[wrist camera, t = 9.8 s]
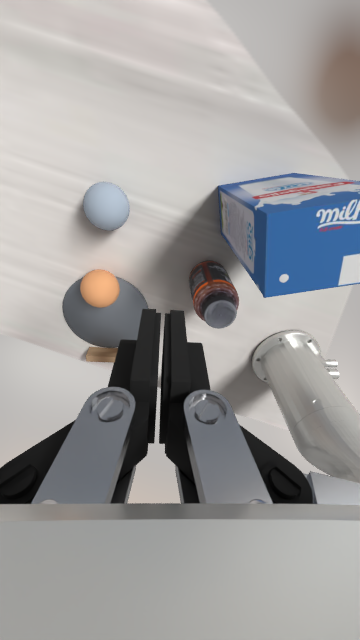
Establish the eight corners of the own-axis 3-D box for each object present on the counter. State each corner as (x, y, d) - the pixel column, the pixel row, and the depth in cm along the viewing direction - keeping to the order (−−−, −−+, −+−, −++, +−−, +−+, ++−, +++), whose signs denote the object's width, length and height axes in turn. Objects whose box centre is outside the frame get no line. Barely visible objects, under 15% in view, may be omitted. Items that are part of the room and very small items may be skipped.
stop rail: (128, 348, 48) (126, 357, 45) (128, 353, 48) (127, 362, 46) (89, 346, 47) (85, 355, 45) (90, 352, 48) (86, 361, 46)
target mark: (149, 277, 40) (149, 277, 40) (148, 348, 48) (148, 349, 48) (56, 271, 39) (56, 271, 39) (69, 345, 47) (69, 346, 46)
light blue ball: (135, 229, 32) (129, 226, 37) (128, 178, 29) (122, 182, 34) (88, 234, 30) (88, 231, 35) (77, 180, 28) (79, 185, 33)
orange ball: (114, 298, 35) (119, 314, 40) (119, 263, 37) (123, 282, 42) (72, 296, 34) (82, 312, 39) (79, 260, 36) (88, 280, 41)
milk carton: (294, 172, 34) (423, 188, 17) (290, 222, 37) (395, 278, 20) (217, 185, 34) (266, 214, 17) (220, 233, 37) (263, 297, 20)
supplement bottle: (186, 292, 42) (191, 333, 32) (192, 257, 39) (199, 289, 29) (221, 297, 43) (237, 337, 33) (230, 262, 40) (250, 295, 30)
